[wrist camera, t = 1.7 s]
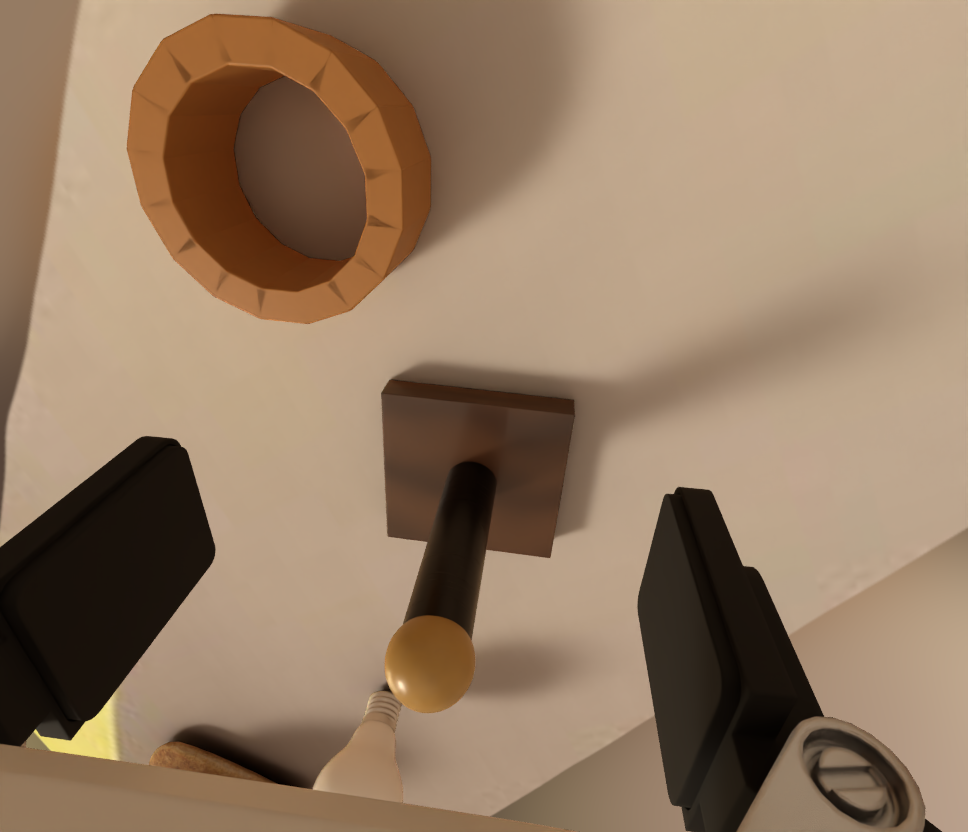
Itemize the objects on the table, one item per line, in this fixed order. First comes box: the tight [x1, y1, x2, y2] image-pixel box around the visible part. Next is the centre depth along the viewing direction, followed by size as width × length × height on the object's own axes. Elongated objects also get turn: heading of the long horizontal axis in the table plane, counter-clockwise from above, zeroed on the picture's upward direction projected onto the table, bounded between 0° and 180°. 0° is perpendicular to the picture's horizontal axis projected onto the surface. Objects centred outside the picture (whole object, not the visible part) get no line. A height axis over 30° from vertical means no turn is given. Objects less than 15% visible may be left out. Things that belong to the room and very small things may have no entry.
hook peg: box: [385, 462, 497, 713], centre depth 24 cm, size 3×3×13 cm
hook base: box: [381, 380, 575, 558], centre depth 30 cm, size 10×10×2 cm
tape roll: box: [127, 14, 431, 324], centre depth 22 cm, size 10×10×5 cm
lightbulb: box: [313, 691, 403, 803], centre depth 39 cm, size 6×6×11 cm
